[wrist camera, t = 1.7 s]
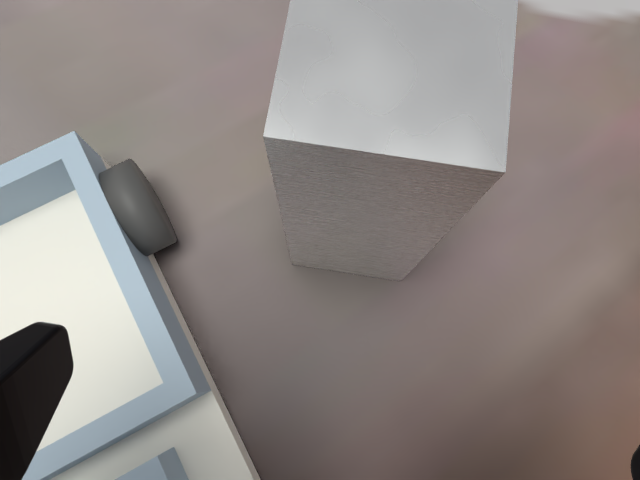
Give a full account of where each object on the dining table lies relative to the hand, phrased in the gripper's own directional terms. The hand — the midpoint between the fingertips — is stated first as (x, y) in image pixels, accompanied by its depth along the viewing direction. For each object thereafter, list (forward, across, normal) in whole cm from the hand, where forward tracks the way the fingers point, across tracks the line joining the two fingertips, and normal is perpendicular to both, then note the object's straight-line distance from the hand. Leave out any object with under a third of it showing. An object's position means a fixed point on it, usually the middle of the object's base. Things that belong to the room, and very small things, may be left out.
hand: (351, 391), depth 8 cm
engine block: (+14, 0, +4) cm, 14 cm away
